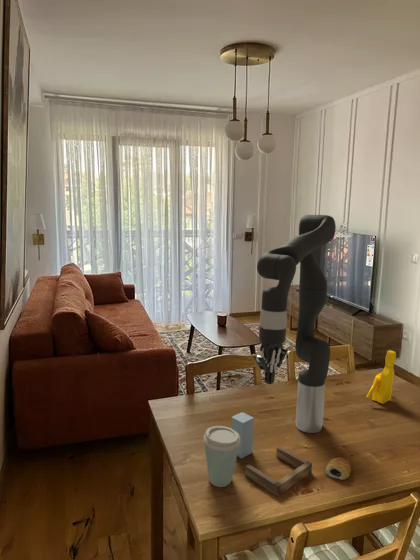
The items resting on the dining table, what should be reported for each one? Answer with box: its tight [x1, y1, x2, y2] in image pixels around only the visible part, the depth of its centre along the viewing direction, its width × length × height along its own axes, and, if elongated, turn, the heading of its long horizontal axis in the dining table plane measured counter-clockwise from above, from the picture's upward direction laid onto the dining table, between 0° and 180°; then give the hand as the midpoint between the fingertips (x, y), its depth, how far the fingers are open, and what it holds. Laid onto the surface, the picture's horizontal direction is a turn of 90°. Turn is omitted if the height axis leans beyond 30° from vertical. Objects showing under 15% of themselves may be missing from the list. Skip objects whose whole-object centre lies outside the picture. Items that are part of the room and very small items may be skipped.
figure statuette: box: [365, 349, 397, 405], centre depth 173 cm, size 18×8×22 cm, turn 131°
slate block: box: [230, 411, 255, 459], centre depth 135 cm, size 5×5×12 cm
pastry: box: [324, 456, 352, 481], centre depth 127 cm, size 9×7×4 cm
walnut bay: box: [244, 445, 313, 497], centre depth 125 cm, size 16×12×3 cm
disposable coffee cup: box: [202, 425, 241, 488], centre depth 120 cm, size 11×11×15 cm
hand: (269, 382), depth 123 cm, fingers closed
